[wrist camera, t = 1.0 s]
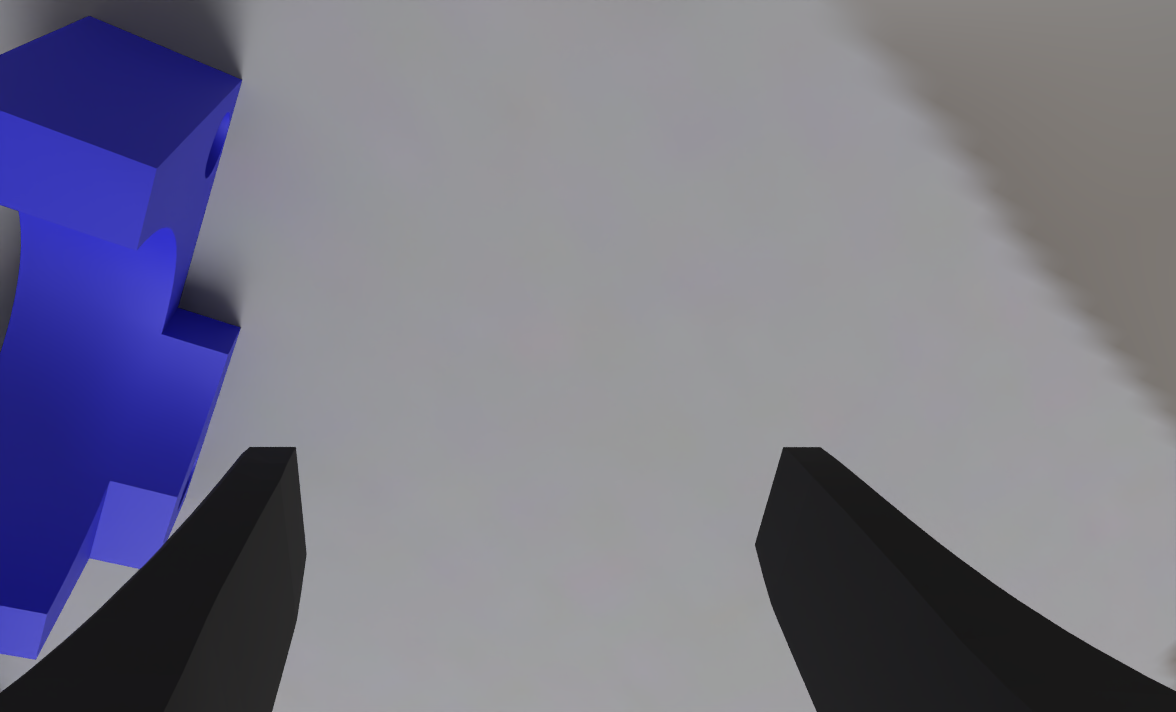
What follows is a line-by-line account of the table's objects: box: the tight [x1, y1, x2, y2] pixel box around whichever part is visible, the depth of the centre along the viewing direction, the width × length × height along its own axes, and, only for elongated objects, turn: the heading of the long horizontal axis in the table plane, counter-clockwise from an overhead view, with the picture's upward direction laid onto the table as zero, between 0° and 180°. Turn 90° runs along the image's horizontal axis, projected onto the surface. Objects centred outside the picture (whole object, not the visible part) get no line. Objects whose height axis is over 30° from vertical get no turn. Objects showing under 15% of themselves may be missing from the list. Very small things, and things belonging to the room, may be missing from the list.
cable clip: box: [0, 16, 242, 660], centre depth 17 cm, size 12×4×6 cm, turn 153°
